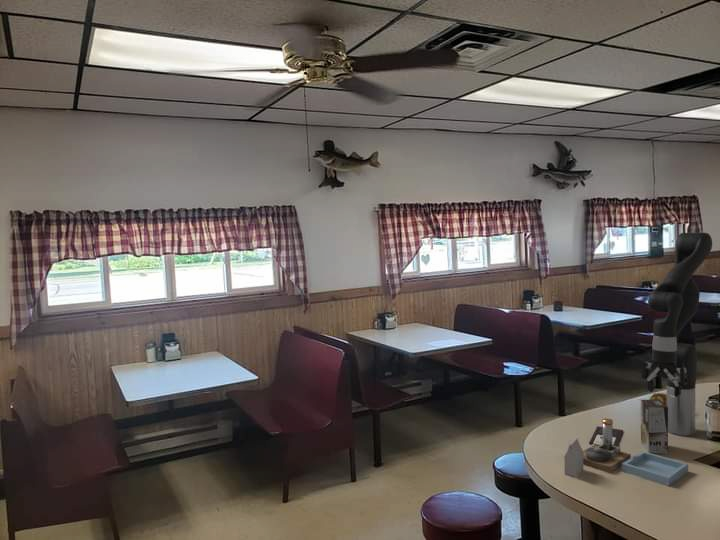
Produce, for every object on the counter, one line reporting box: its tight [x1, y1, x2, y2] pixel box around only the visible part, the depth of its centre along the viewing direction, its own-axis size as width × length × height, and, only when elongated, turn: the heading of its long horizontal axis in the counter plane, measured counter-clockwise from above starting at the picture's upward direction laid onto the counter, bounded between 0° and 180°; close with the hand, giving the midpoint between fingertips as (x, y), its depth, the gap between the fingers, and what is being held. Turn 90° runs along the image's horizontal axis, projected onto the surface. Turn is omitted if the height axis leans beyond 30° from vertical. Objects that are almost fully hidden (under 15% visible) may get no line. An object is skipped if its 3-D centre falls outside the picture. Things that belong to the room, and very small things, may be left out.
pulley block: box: [583, 444, 632, 474], centre depth 183 cm, size 14×12×5 cm
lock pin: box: [601, 418, 614, 451], centre depth 185 cm, size 3×3×11 cm
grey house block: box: [563, 438, 584, 478], centre depth 176 cm, size 4×7×10 cm, turn 141°
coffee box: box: [640, 398, 669, 455], centre depth 191 cm, size 9×6×16 cm
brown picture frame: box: [588, 425, 624, 447], centre depth 202 cm, size 9×1×18 cm
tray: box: [621, 450, 689, 487], centre depth 174 cm, size 14×14×2 cm
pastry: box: [649, 392, 667, 406], centre depth 226 cm, size 14×12×8 cm
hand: (663, 393), depth 195 cm, fingers open, 8 cm apart
